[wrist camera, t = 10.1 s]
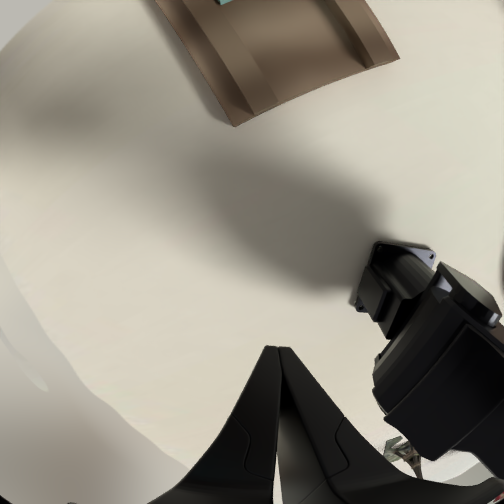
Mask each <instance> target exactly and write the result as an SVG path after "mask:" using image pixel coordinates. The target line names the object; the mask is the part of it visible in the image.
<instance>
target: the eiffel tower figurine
mask: <svg viewBox="0 0 504 504" xmlns="http://www.w3.org/2000/svg"><path fill="white" fill-rule="evenodd" d="M401 440H402V437H401V436H399V437H397V438H394V439H392V440H389V441H387V443H386V447H385V451H384V457H385V458H386V459H387V460H388V461H389V462H390V463H391V462H394V461H397V460H399V459H401V458H402V459H403V460H404V462H405V461H406V462H407V463H408V464H409V465H410V466H411V467H412V468H411V469H413V471H414V472H415V474H416V476H417V478H419V479H423V477H422V472H421V456H420V455H419V454H418V453H417V451H416V450H415V449H414V447H413V446H412V445H411V443H410V442H409V441H408V442H406V443H405V444H403V445H402V446H401V447H399V448H396V449H392V448H391V447H392V446H394V445H395V444H396V443H398V442H399V441H401ZM404 453H406V455H405V454H404Z"/></svg>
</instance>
